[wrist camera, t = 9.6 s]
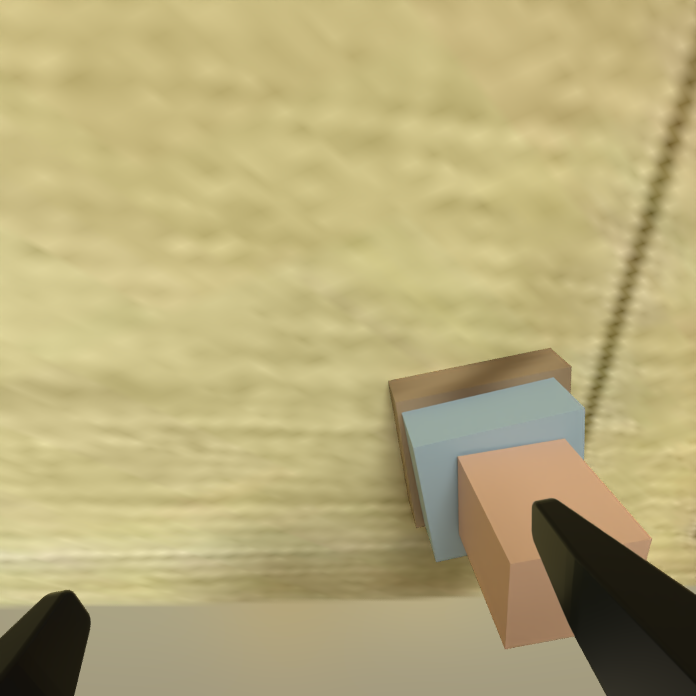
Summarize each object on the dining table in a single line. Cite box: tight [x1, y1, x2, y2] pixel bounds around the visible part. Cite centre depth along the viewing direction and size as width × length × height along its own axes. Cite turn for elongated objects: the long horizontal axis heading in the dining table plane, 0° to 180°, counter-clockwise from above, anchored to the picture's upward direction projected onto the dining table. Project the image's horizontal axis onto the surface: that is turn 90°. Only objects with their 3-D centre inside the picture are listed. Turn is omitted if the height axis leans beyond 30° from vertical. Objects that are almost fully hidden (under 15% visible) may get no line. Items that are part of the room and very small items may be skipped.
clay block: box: [458, 438, 652, 649], centre depth 17 cm, size 4×4×5 cm
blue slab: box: [402, 377, 585, 562], centre depth 20 cm, size 7×7×2 cm
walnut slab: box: [388, 348, 571, 528], centre depth 23 cm, size 8×8×2 cm
